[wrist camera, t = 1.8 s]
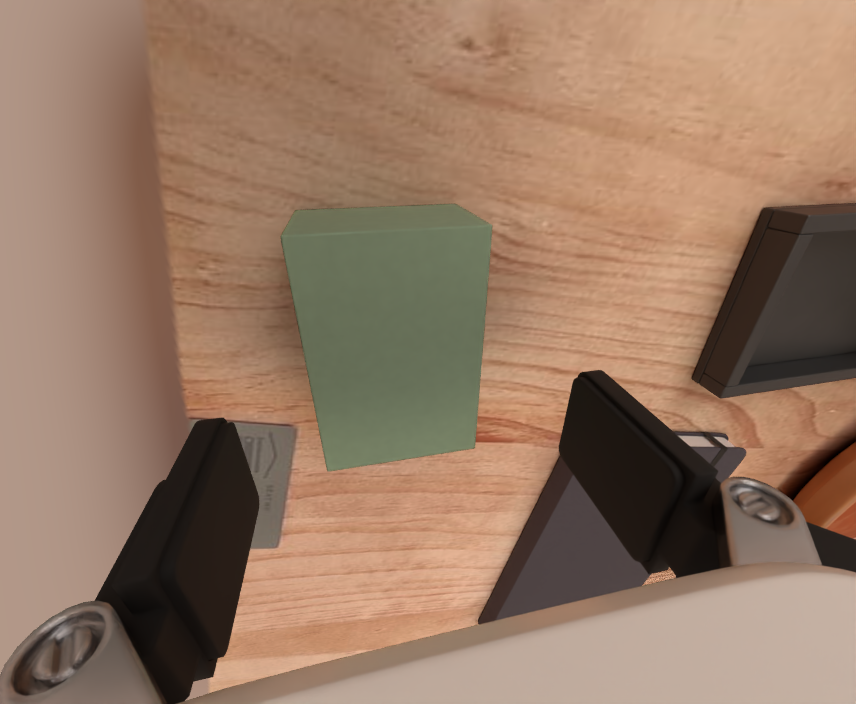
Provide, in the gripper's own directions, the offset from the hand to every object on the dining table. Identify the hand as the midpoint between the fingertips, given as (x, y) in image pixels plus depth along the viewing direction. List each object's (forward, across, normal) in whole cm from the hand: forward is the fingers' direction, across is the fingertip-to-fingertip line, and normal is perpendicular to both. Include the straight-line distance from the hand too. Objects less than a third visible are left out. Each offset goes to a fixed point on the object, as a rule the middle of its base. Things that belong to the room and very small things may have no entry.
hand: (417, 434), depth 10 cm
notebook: (+8, -14, +19) cm, 25 cm away
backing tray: (+7, -28, 0) cm, 29 cm away
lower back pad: (+7, 0, -1) cm, 7 cm away
